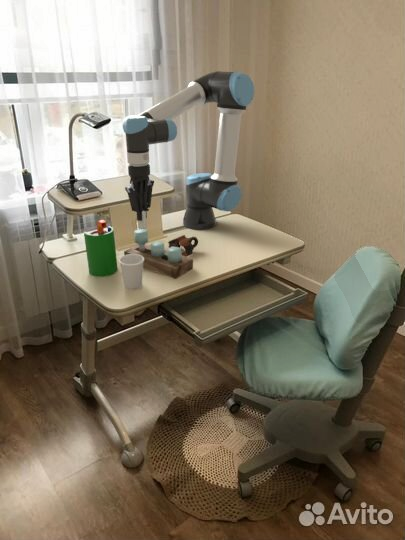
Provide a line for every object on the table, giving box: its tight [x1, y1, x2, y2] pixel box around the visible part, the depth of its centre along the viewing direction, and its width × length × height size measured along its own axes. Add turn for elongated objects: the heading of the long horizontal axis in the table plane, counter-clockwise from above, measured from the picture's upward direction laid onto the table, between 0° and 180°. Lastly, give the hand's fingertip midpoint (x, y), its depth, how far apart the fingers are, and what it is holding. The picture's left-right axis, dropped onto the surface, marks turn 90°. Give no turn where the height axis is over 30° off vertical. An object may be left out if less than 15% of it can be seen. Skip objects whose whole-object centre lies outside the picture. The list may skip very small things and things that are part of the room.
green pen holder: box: [83, 219, 119, 278], centre depth 153 cm, size 10×9×20 cm
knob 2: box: [150, 241, 165, 258], centre depth 160 cm, size 5×5×8 cm
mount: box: [123, 243, 194, 280], centre depth 161 cm, size 10×25×4 cm, turn 54°
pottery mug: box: [167, 234, 199, 257], centre depth 172 cm, size 12×10×8 cm
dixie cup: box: [118, 254, 144, 291], centre depth 146 cm, size 8×8×10 cm
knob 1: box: [133, 228, 149, 252], centre depth 163 cm, size 5×5×8 cm
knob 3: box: [167, 247, 182, 264], centre depth 156 cm, size 5×5×8 cm
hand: (142, 227), depth 160 cm, fingers closed
